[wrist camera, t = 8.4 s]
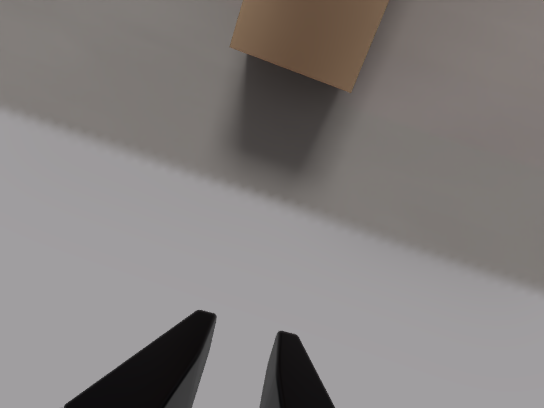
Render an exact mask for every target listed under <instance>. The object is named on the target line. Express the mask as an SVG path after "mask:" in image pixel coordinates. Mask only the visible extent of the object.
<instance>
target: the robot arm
mask: <svg viewBox="0 0 544 408" xmlns="http://www.w3.org/2000/svg"><path fill="white" fill-rule="evenodd" d="M215 323H216V315H215V314H214V313H210V312H206V311H203V310H197V311H195V312H194V313H192V314H191V315H190V316H188V317H187V318H185V319H184V320H183V321H182V322H180V323H178V324H177V325H176V326H174V327H173V328H171V329H170V330H169V331H167V332H166V333H164V334H163V335H162V336H160V337H159V338H157V339H156V340H155V341H153V342H152V343H151V344H149V345H148V346H146V347H145V348H143V349H142V350H141V351H139V352H138V353H136V354H135V355H134V356H132V357H131V358H129V359H128V360H127V361H125V362H124V363H122V364H121V365H120V366H118V367H117V368H116V369H114V370H113V371H112V372H110V373H108V374H107V375H106V376H104V377H103V378H101V379H100V380H99V381H97V382H96V383H95V384H93V385H92V386H90V387H89V388H87V389H86V390H85V391H83V392H82V393H81V394H79V395H78V396H76V397H75V398H74V399H72V400H71V401H69V402H68V403H67V404H65V406H64V408H192V405H193V401H194V399H195V395H196V392H197V389H198V386H199V382H200V379H201V376H202V373H203V370H204V366H205V363H206V360H207V357H208V353H209V350H210V346H211V341H212V337H213V332H214V328H215ZM260 408H335V407H334V405H333V403H332V401H331V399H330V397H329V395H328V393H327V391H326V389H325V387H324V386H323V383H322V381H321V380H320V378H319V376H318V374H317V372H316V370H315V368H314V366H313V364H312V362H311V360H310V358H309V356H308V354H307V353H306V350H305V348H304V347H303V345H302V343H301V341H300V339H299V337H298V336H297V335H296V334H292V333H288V332H284V331H279V332H278V333H277V336H276V338H275V342H274V345H273V348H272V352H271V355H270V358H269V362H268V366H267V370H266V375H265V381H264V386H263V392H262V397H261V403H260Z"/></svg>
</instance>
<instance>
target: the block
mask: <svg viewBox="0 0 544 408" xmlns="http://www.w3.org/2000/svg"><path fill="white" fill-rule="evenodd" d="M388 2H389V0H243V2H242V6H241V9H240V13H239V16H238V20H237V23H236V27H235V30H234V33H233V37H232V40H231V44H230V47H231V48H233V49H236V50H239V51H241V52H244V53H247V54H249V55H252V56H254V57H257V58H260V59H262V60H265V61H268V62H270V63H273V64H276V65H278V66H281V67H284V68H286V69H289V70H291V71H294V72H297V73H299V74H302V75H305V76H307V77H310V78H313V79H315V80H318V81H321V82H323V83H326V84H328V85H331V86H334V87H336V88H339V89H342V90H344V91H347V92H350V93H351V91H352V89H353V86H354V84H355V82H356V79H357V77H358V74H359V72H360V70H361V67H362V65H363V62H364V60H365V58H366V55H367V53H368V50H369V48H370V45H371V43H372V41H373V38H374V36H375V33H376V31H377V29H378V26H379V24H380V21H381V19H382V17H383V14H384V12H385V9H386V7H387V4H388Z"/></svg>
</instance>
